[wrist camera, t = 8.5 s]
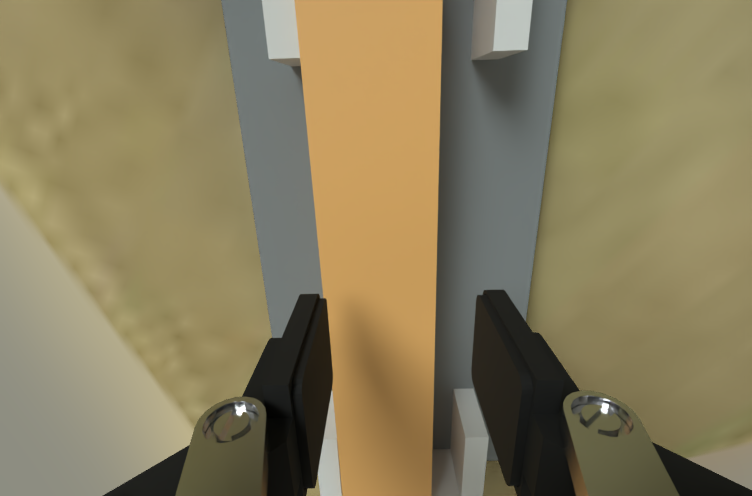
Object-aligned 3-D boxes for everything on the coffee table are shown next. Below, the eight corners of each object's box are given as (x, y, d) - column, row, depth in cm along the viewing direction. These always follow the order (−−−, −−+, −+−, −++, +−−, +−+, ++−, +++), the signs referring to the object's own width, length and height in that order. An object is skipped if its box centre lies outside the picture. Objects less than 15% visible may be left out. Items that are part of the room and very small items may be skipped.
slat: (310, -38, 13) (286, -82, 10) (428, -43, 13) (444, -90, 10) (349, 446, 21) (344, 510, 18) (423, 445, 21) (431, 509, 18)
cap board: (223, -83, 14) (154, -161, 10) (561, -97, 14) (641, -184, 9) (296, 440, 23) (277, 517, 19) (499, 437, 23) (527, 515, 18)
